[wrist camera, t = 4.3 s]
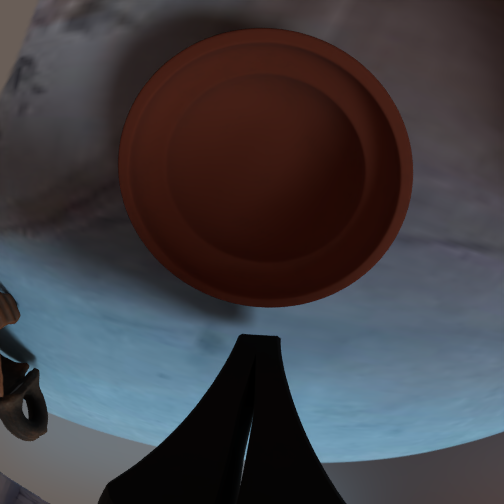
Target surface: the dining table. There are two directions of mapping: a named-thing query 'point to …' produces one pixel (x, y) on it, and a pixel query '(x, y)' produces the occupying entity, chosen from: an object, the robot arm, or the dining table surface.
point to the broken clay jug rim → (19, 387)
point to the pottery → (265, 167)
